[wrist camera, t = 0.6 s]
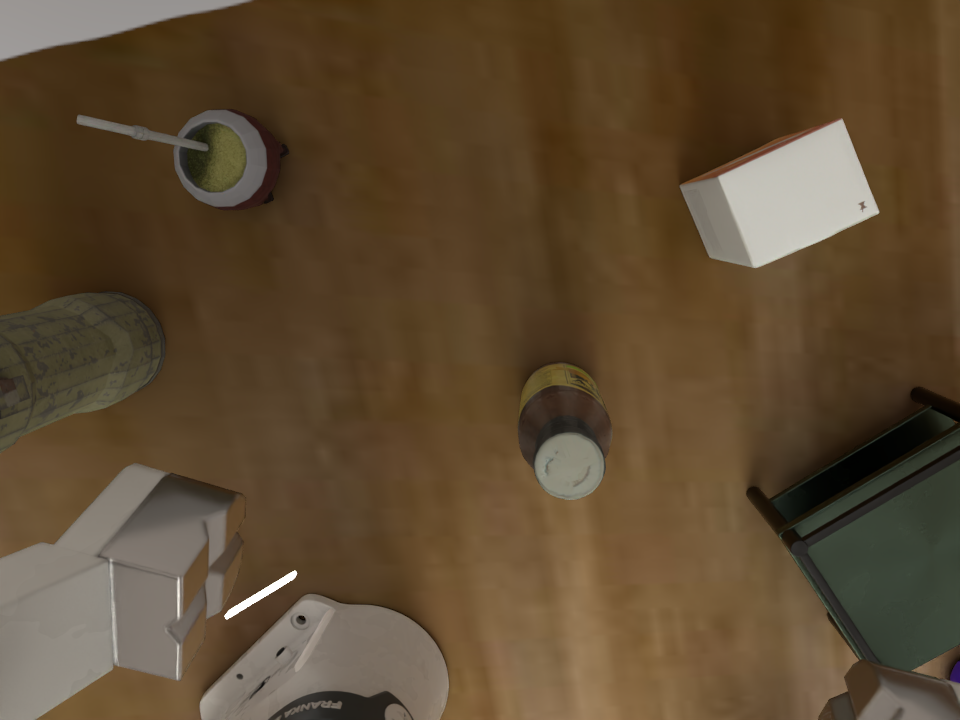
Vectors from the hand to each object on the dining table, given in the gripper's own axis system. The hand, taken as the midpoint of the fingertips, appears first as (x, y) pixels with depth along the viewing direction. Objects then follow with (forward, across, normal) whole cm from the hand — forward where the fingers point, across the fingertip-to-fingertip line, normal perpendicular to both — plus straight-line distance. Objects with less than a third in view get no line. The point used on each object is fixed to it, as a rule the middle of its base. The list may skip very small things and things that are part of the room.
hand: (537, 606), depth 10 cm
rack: (+47, +31, -28) cm, 62 cm away
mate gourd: (+50, -25, -14) cm, 58 cm away
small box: (+53, +13, -8) cm, 55 cm away
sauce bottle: (+47, +4, -25) cm, 54 cm away
